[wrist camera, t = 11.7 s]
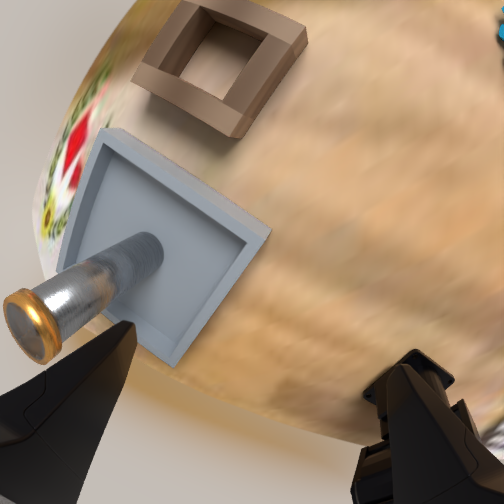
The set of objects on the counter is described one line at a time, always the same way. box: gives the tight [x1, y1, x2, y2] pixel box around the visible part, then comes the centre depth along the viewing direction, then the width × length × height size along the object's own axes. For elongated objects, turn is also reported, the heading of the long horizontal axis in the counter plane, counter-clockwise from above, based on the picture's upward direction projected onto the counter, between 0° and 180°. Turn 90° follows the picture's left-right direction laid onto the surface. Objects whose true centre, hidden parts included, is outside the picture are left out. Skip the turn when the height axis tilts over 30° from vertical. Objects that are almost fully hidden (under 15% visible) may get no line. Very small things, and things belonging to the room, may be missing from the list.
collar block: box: [131, 0, 308, 138], centre depth 16 cm, size 8×8×3 cm
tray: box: [56, 128, 272, 368], centre depth 22 cm, size 14×14×2 cm
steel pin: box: [3, 232, 164, 365], centre depth 17 cm, size 4×4×12 cm
